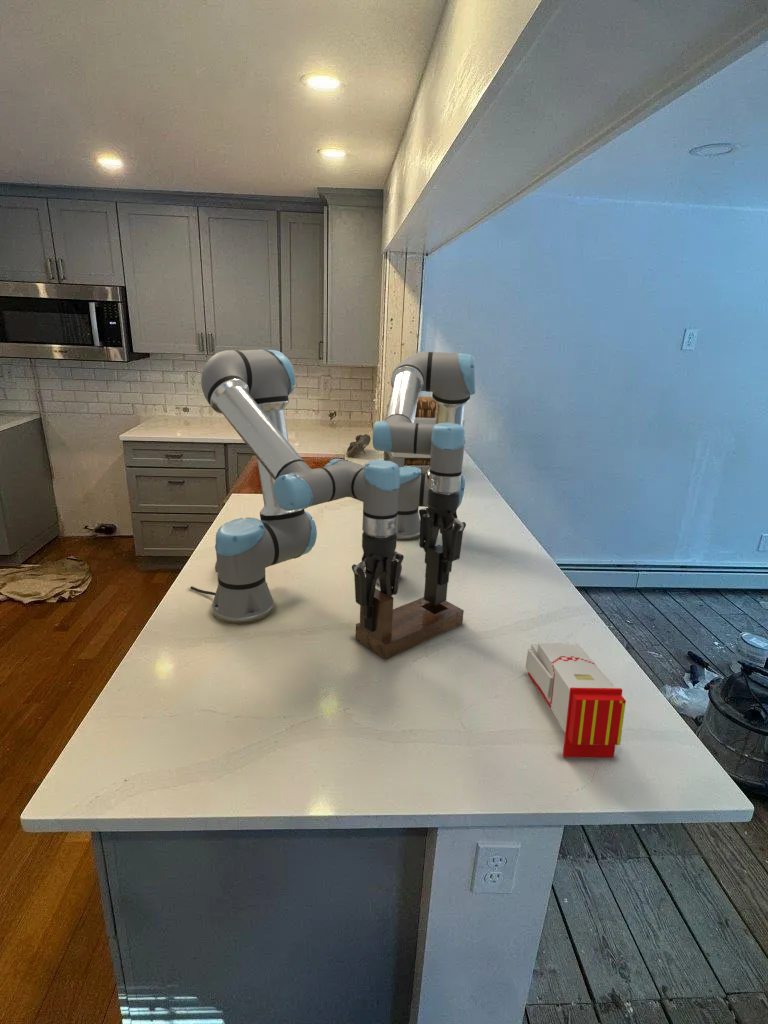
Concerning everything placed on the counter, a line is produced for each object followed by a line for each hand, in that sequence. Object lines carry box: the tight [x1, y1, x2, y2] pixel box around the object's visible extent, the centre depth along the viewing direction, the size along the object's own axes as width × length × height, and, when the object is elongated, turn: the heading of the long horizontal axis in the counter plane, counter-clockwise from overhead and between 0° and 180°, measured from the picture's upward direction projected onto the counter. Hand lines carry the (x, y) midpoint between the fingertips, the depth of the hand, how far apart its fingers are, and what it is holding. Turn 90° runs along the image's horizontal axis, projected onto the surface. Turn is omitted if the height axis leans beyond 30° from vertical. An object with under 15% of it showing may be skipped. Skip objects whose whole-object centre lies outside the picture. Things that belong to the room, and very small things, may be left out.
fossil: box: [346, 433, 372, 458], centre depth 305 cm, size 22×10×15 cm
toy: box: [525, 642, 627, 759], centre depth 113 cm, size 12×13×30 cm
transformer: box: [383, 396, 465, 467], centre depth 268 cm, size 34×33×41 cm
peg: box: [423, 544, 449, 605], centre depth 140 cm, size 4×4×14 cm
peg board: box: [354, 587, 465, 661], centre depth 138 cm, size 11×26×14 cm, turn 131°
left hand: (375, 626), depth 131 cm, fingers closed on peg board, 3 cm apart
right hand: (436, 579), depth 141 cm, fingers closed on peg, 4 cm apart
